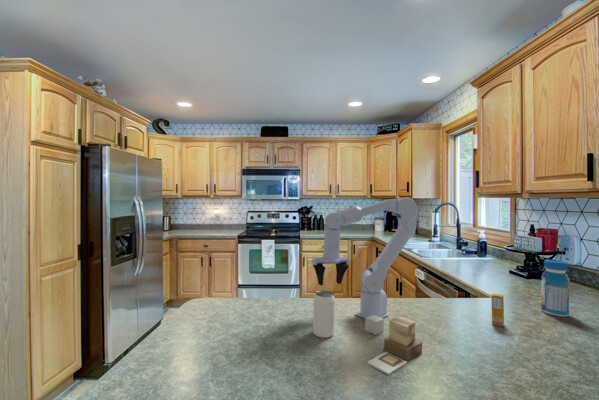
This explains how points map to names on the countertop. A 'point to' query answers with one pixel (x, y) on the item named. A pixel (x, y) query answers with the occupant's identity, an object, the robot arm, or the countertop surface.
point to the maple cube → (402, 330)
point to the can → (324, 314)
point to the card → (387, 363)
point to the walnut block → (403, 348)
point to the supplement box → (497, 310)
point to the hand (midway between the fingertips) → (329, 283)
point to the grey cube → (374, 324)
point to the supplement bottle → (555, 288)
